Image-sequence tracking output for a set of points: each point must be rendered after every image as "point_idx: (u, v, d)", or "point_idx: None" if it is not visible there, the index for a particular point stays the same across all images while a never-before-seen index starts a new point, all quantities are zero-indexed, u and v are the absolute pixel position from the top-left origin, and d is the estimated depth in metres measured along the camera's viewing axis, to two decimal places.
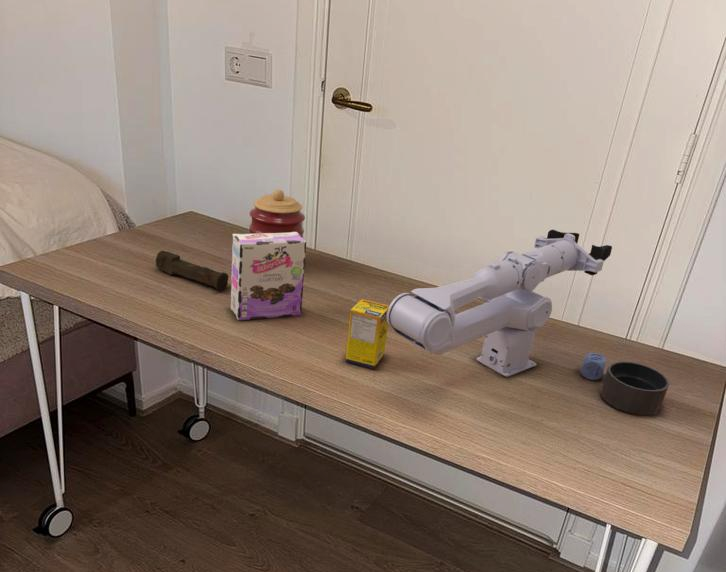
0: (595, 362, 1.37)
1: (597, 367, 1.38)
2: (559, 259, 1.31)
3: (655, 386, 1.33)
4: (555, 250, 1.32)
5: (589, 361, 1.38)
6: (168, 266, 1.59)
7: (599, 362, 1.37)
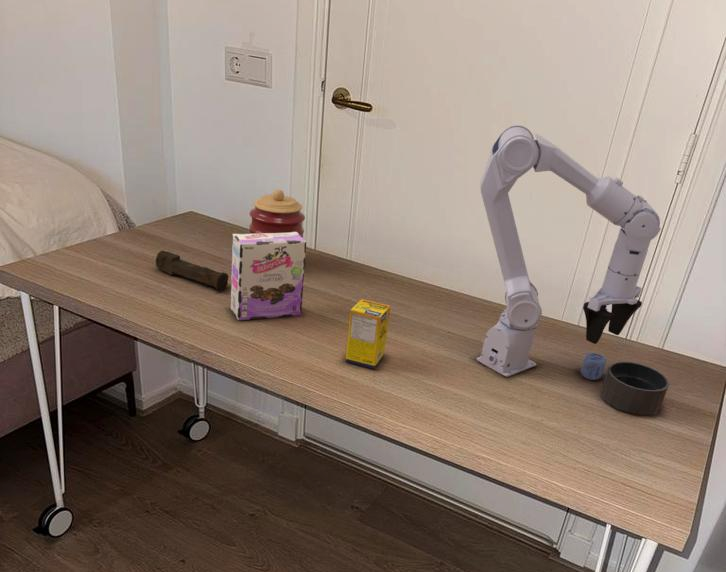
0: (595, 362, 1.37)
1: (597, 367, 1.38)
2: (635, 270, 1.27)
3: (655, 386, 1.33)
4: (641, 269, 1.28)
5: (589, 361, 1.38)
6: (168, 266, 1.59)
7: (599, 362, 1.37)
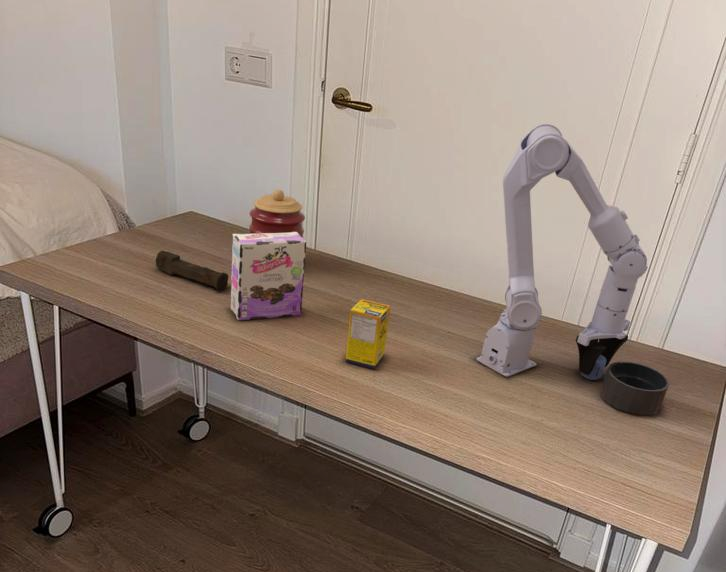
0: None
1: (597, 367, 1.38)
2: (624, 306, 1.30)
3: (655, 386, 1.33)
4: (629, 305, 1.32)
5: None
6: (168, 266, 1.59)
7: (599, 362, 1.37)
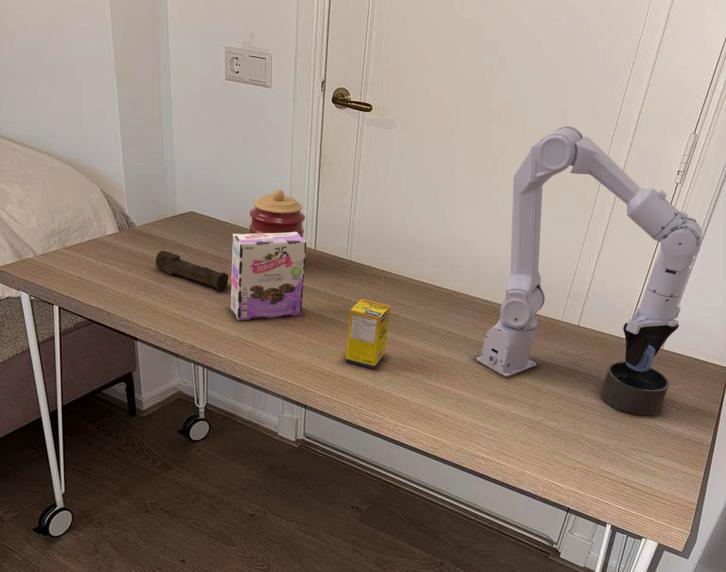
0: None
1: (645, 357, 1.27)
2: (672, 291, 1.20)
3: (655, 386, 1.33)
4: (680, 291, 1.21)
5: None
6: (168, 266, 1.59)
7: (648, 352, 1.27)
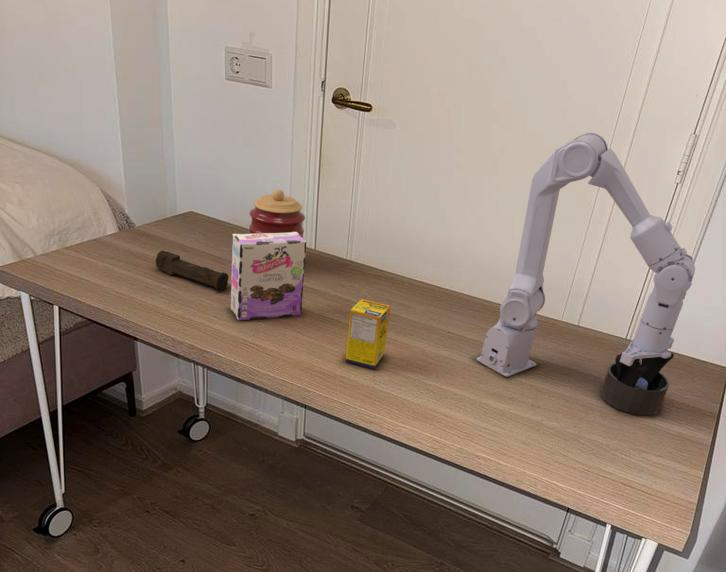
0: (636, 385, 1.30)
1: None
2: (665, 324, 1.22)
3: (655, 386, 1.33)
4: (673, 324, 1.23)
5: None
6: (168, 266, 1.59)
7: (640, 385, 1.30)
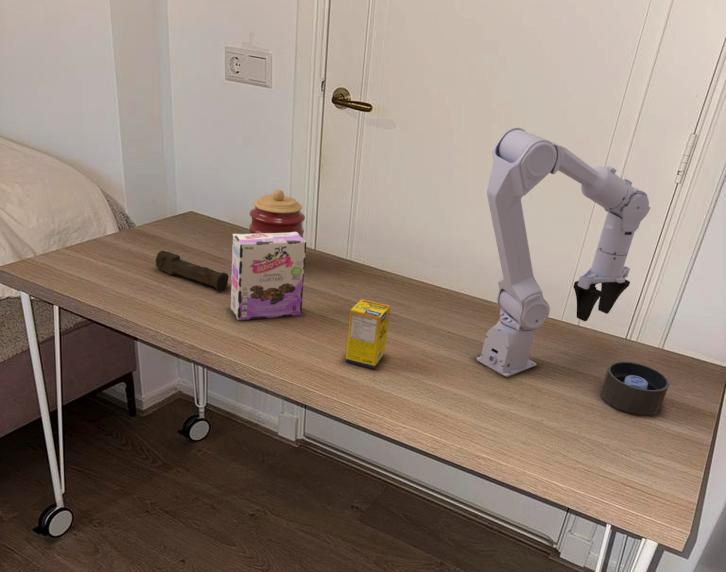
0: (636, 385, 1.30)
1: None
2: (628, 249, 1.34)
3: (655, 386, 1.33)
4: None
5: (630, 385, 1.30)
6: (168, 266, 1.59)
7: (640, 385, 1.30)
